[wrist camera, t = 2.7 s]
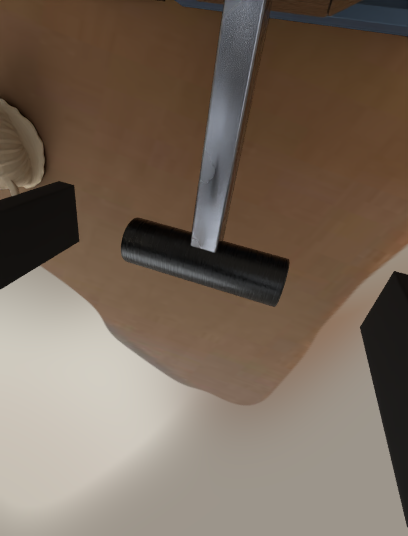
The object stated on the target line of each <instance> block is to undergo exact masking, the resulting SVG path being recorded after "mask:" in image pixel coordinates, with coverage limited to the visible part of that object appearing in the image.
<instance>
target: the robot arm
mask: <svg viewBox="0 0 408 536" xmlns="http://www.w3.org/2000/svg"><path fill="white" fill-rule="evenodd" d="M77 242H79V233H78V222H77V211H76V200H75V189H74V185H71V184H67V183H64V182H60V181H58V182H55V183H52V184H49V185H46V186H43V187H39V188H36V189H33V190H30V191H27V192H24V193H21V194H17V195H14V196H11V197H8V198H5V199H2V200H0V289H2V288H4V287H5V286H7V285H9V284H10V283H12V282H13V281H15V280H17V279H18V278H20V277H22V276H23V275H25V274H27V273H28V272H30V271H31V270H33V269H35V268H36V267H38V266H40V265H41V264H43V263H45V262H46V261H48V260H49V259H51V258H53V257H54V256H56V255H58V254H59V253H61V252H63V251H64V250H66V249H67V248H69V247H71V246H72V245H74V244H76V243H77ZM360 329H361V334H362V338H363V342H364V346H365V351H366V355H367V359H368V363H369V367H370V372H371V376H372V380H373V385H374V389H375V393H376V397H377V401H378V406H379V410H380V414H381V418H382V423H383V427H384V431H385V435H386V439H387V444H388V448H389V452H390V456H391V461H392V465H393V469H394V473H395V477H396V482H397V486H398V490H399V494H400V499H401V503H402V507H403V512H404V516H405V520H406V524H407V527H408V275H406V274H403V273H399V272H396V271H394V272H393V274H392V275H391V277H390V279H389V280H388V282H387V284H386V285H385V287H384V289H383V290H382V292H381V294H380V295H379V297H378V299H377V300H376V302H375V304H374V305H373V307H372V308H371V310H370V312H369V313H368V315H367V317H366V318H365V320H364V322H363V323H362V325H361V326H360Z"/></svg>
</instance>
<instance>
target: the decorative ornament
mask: <svg viewBox="0 0 408 536" xmlns="http://www.w3.org/2000/svg"><path fill="white" fill-rule="evenodd" d="M44 163H45V157H44V147H43V142H42V140H41V139H40V137H39V136H38V134H37V131H36V129H35V127H34V125H33V124H32V123H31V122H30V121H29V120H28V119H27V118H25V117H23V116H22V115H21V114H20V112H19V111H18V109H17V108H15V107H12V106H10V105H9V104H8V103H7V102H6V101H5V100H3V99H0V189H9V190H10V193H11V196H14V195H17V194H20V193H19V189H18V187H20V186H23V187H24V188H32V187H34V186H36V185H37V184H38V183H40V182H41V181H42V177H43V175H44Z"/></svg>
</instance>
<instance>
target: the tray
mask: <svg viewBox="0 0 408 536" xmlns="http://www.w3.org/2000/svg"><path fill="white" fill-rule="evenodd" d="M175 1H176V2H178V3H179V4H180V5H182V6H184V7H192V8H199V9H207V10H214V11H223V4H215V3H207V2H199V1H196V0H175ZM269 18H274V19H282V20H289V21H297V22H304V23H312V24H319V25H327V26H334V27H342V28H349V29H357V30H364V31H372V32H379V33H387V34H394V35H402V36H408V0H362V1H360V2H358V3H356V4H354V5H352V6H350V7H348V8H346V9H344V10H342V11H340V12H338V13H336V14H334V15H332V16H328V14H327V16H326V17H324V18H323V17H315V16H308V15H300V14H292V13H285V12H277V11H271V12H270V17H269Z"/></svg>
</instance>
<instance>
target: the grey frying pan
mask: <svg viewBox="0 0 408 536" xmlns="http://www.w3.org/2000/svg"><path fill="white" fill-rule="evenodd" d="M196 1H199V2H207V3H215V4H223V11H222V18H221V25H220V32H219V40H218V47H217V54H216V61H215V68H214V76H213V83H212V90H211V97H210V104H209V112H208V119H207V126H206V133H205V141H204V148H203V155H202V162H201V169H200V177H199V184H198V191H197V198H196V205H195V213H194V220H193V227H192V232H189V231H185V230H182V229H178V228H174V227H171V226H167V225H163V224H160V223H156V222H153V221H149V220H145V219H142V218H134V219H133V220H132V221H131V222H130V223H129V224H128V226H127V227H126V229H125V232H124V234H123V238H122V243H121V254H122V257H123V259H124V260H125V261H127V262H130V263H133V264H136V265H139V266H143V267H146V268H149V269H152V270H156V271H159V272H162V273H165V274H169V275H172V276H175V277H178V278H182V279H185V280H188V281H191V282H195V283H198V284H201V285H204V286H208V287H211V288H214V289H217V290H221V291H224V292H227V293H230V294H234V295H237V296H240V297H243V298H247V299H250V300H253V301H256V302H260V303H263V304H266V305H269V306H273V307H275V306H276V305H277V303H278V301H279V299H280V296H281V294H282V291H283V288H284V284H285V281H286V277H287V273H288V269H289V259H287V258H283V257H279V256H276V255H272V254H268V253H265V252H261V251H258V250H254V249H250V248H247V247H243V246H239V245H236V244H232V243H229V242H225V241H223V238H224V233H225V228H226V223H227V219H228V214H229V209H230V204H231V199H232V194H233V190H234V185H235V180H236V175H237V170H238V166H239V161H240V156H241V151H242V146H243V142H244V137H245V132H246V127H247V122H248V118H249V113H250V108H251V103H252V98H253V94H254V89H255V84H256V79H257V74H258V69H259V65H260V60H261V55H262V50H263V45H264V41H265V36H266V31H267V26H268V21H269V17H270V12H271V11H277V12H285V13H292V14H300V15H308V16H315V17H323V18H324V17H326V16H327V14H328V16H332V15H334V14H336V13H338V12H340V11H342V10H344V9H346V8H348V7H350V6H352V5H354V4H356V3H358V2H360V1H362V0H196Z"/></svg>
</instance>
